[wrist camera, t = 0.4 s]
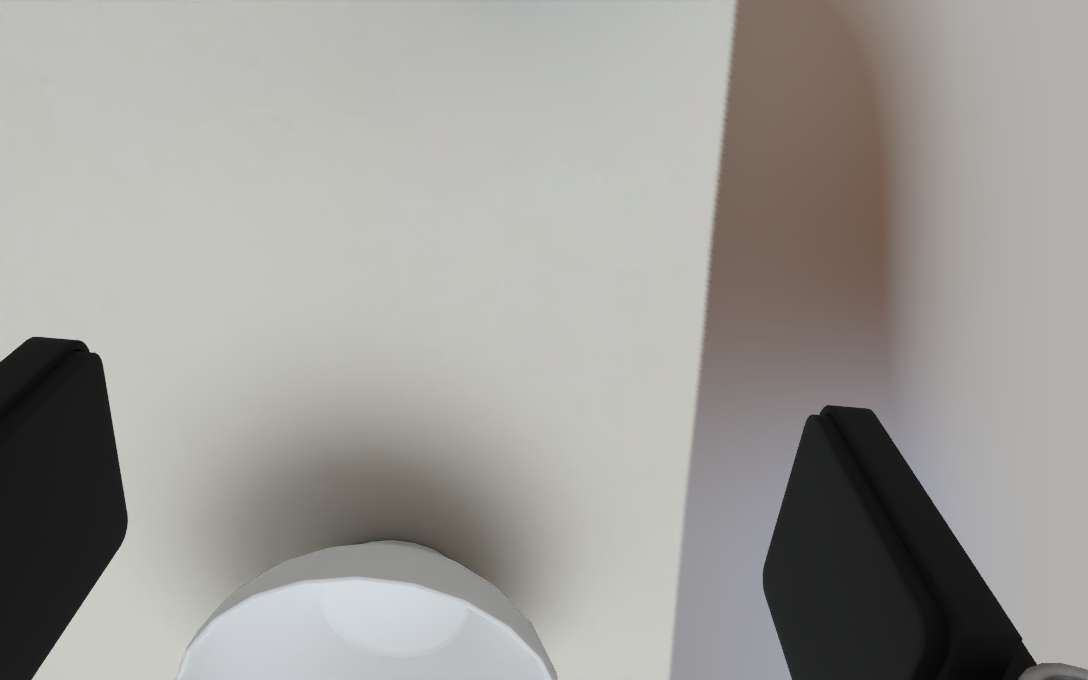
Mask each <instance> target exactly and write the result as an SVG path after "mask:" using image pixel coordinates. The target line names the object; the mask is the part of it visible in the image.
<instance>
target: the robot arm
mask: <svg viewBox="0 0 1088 680" xmlns="http://www.w3.org/2000/svg"><path fill="white" fill-rule="evenodd" d="M127 523H128V517H127V509H126V503H125V497H124V491H123V485H122V479H121V473H120V467H119V461H118V455H117V449H116V443H115V436H114V430H113V424H112V418H111V412H110V406H109V400H108V394H107V388H106V382H105V376H104V369H103V364H102V361H101V358H100V357H99V355H98V354H96V353H90V352H89V349H88V347H87V346H86V344H85V343H83V342H82V341H79V340H67V339H56V338H44V337H32V338H30V339H28V340H26V341H25V342H24V343H23V344H22V345H20V346H19V347H18V348H17V349H16V350H14V351H13V352H12V353H11V354H10V355H8V356H7V357H6V358H5V359H4V360H2V361H1V362H0V680H31V679H32V678H33V676H34V675H35V673H36V672H37V670H38V669H39V667H40V666H41V664H42V663H43V661H44V660H45V658H46V657H47V655H48V654H49V652H50V651H51V649H52V648H53V646H54V645H55V643H56V642H57V640H58V639H59V637H60V636H61V634H62V633H63V631H64V630H65V628H66V627H67V625H68V624H69V622H70V621H71V619H72V618H73V616H74V615H75V613H76V612H77V610H78V609H79V607H80V606H81V604H82V603H83V601H84V600H85V598H86V597H87V595H88V594H89V592H90V591H91V589H92V588H93V586H94V585H95V583H96V582H97V580H98V579H99V577H100V576H101V574H102V573H103V571H104V570H105V568H106V567H107V565H108V564H109V562H110V561H111V559H112V558H113V556H114V555H115V553H116V552H117V550H118V549H119V547H120V546H121V544H122V542H123V540H124V537H125V534H126V530H127ZM763 588H764V593H765V597H766V600H767V603H768V606H769V609H770V612H771V615H772V618H773V621H774V625H775V628H776V631H777V634H778V637H779V640H780V643H781V646H782V649H783V652H784V656H785V659H786V662H787V664H788V668H789V671H790V674H791V677H792V680H1088V670H1086V669H1083V668H1079V667H1075V666H1070V665H1066V664H1061V663H1041V664H1039V665H1037V664H1036V662H1035V661H1034V659H1033V658H1032V656H1031V655H1030V654H1029V652H1028V650H1027V649H1026V647H1025V646H1024V644H1023V643H1022V637H1021V636H1020V634H1019V633H1018V631H1017V630H1016V628H1015V627H1014V625H1013V624H1012V622H1011V621H1010V619H1009V618H1008V616H1007V615H1006V613H1005V612H1004V610H1003V609H1002V607H1001V605H1000V604H999V602H998V601H997V599H996V598H995V596H994V595H993V593H992V592H991V590H990V589H989V587H988V586H987V584H986V583H985V581H984V580H983V578H982V577H981V575H980V574H979V572H978V570H977V569H976V567H975V566H974V564H973V563H972V561H971V560H970V558H969V557H968V555H967V554H966V553H965V551H964V549H963V548H962V546H961V545H960V543H959V542H958V540H957V538H956V537H955V536H954V534H953V533H952V531H951V529H950V528H949V526H948V525H947V523H946V522H945V520H944V519H943V517H942V516H941V514H940V513H939V511H938V510H937V508H936V507H935V505H934V503H933V502H932V500H931V499H930V497H929V496H928V495H927V493H926V491H925V490H924V488H923V487H922V485H921V484H920V482H919V481H918V479H917V478H916V476H915V475H914V473H913V471H912V470H911V468H910V467H909V465H908V464H907V462H906V461H905V459H904V458H903V456H902V455H901V453H900V452H899V450H898V449H897V447H896V446H895V444H894V443H893V441H892V439H891V438H890V436H889V435H888V433H887V432H886V430H885V429H884V427H883V426H882V424H881V423H880V421H879V420H878V418H877V417H876V415H875V414H874V413H873V411H872V410H870V409H866V408H854V407H842V406H831V405H827V406H825V407H824V408H823V409H822V411H821V412H820V415H810V416H809V417H808V419H807V421H806V423H805V426H804V430H803V433H802V436H801V440H800V443H799V447H798V450H797V454H796V457H795V460H794V464H793V467H792V471H791V474H790V478H789V481H788V485H787V488H786V492H785V495H784V498H783V502H782V505H781V509H780V512H779V516H778V519H777V523H776V526H775V530H774V533H773V536H772V540H771V544H770V547H769V550H768V554H767V557H766V561H765V564H764V569H763Z"/></svg>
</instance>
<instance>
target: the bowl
mask: <svg viewBox="0 0 1088 680" xmlns="http://www.w3.org/2000/svg"><path fill="white" fill-rule="evenodd" d="M175 680H558V679H557V673H556V671H555V669H554V667H553V665H552V663H551V661H550V659H549V657H548V655H547V653H546V651H545V649H544V647H543V645H542V643H541V641H540V639H539V637H538V635H537V633H536V631H535V629H534V627H533V625H532V623H531V622H530V621H529V620H528V619H527V618H526V617H525V616H524V615H523V614H522V613H521V611H520V610H519V609H518V608H517V607H516V606H515V605H514V604H513V603H512V602H511V601H510V600H509V599H508V598H507V597H506V596H505V595H504V594H503V593H502V592H501V591H500V590H499V589H498V588H497V587H496V586H495V585H493V584H492V583H490V582H488V581H487V580H485V579H484V578H482V577H480V576H479V575H477V574H475V573H474V572H472V571H470V570H469V569H467V568H465V567H464V566H462V565H461V564H459V563H457V562H456V561H454V560H451V559H449V558H447V557H445V556H444V555H442V554H440V553H439V552H437V551H436V550H434V549H431V548H428V547H425V546H422V545H419V544H416V543H412V542H404V541H396V540H386V541H373V542H368V543H365V544H358V545H345V546H335V547H329V548H326V549H322V550H319V551H316V552H312V553H309V554H306V555H302V556H299V557H296V558H292V559H289V560H287V561H285V562H283V563H280V564H278V565H276V566H274V567H272V568H271V569H269V570H268V571H266V572H264V573H263V574H261V575H259V576H258V577H256V578H255V579H253V580H251V581H250V582H248V583H246V584H245V585H243V586H242V587H240V588H239V589H237V590H236V591H235V592H234V593H233V594H232V595H230V596H229V597H228V598H227V599H226V600H224V601H223V603H222V604H221V605H220V606H219V607H218V608H217V610H216V611H215V612H214V613H213V614H212V615H211V616H210V618H209V619H208V620H207V621H206V622H205V623H204V624H203V626H202V627H201V628H200V629H199V630H198V632H197V633H196V635H195V636H194V638H193V639H192V641H191V642H190V644H189V645H188V647H187V648H186V651H185V653H184V656H183V659H182V662H181V664H180V667H179V670H178V672H177V675H176V678H175Z"/></svg>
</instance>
